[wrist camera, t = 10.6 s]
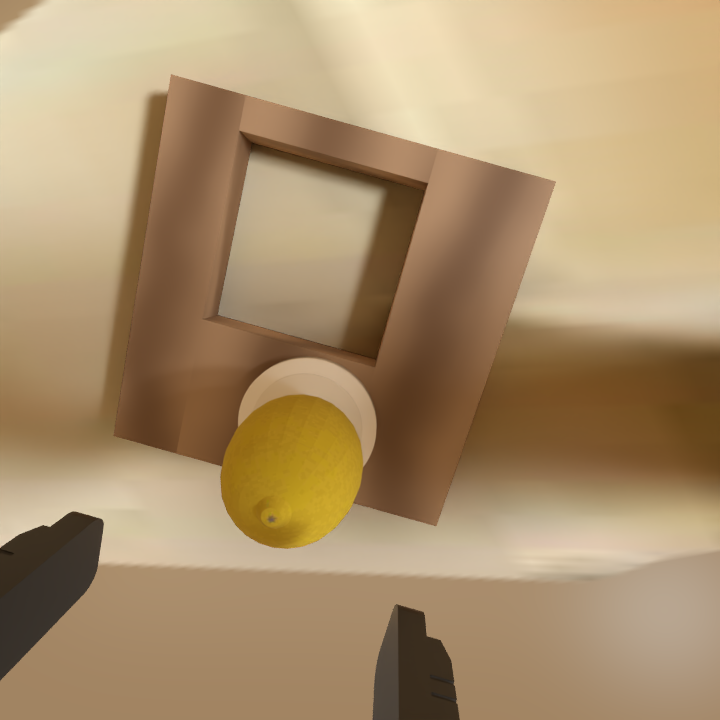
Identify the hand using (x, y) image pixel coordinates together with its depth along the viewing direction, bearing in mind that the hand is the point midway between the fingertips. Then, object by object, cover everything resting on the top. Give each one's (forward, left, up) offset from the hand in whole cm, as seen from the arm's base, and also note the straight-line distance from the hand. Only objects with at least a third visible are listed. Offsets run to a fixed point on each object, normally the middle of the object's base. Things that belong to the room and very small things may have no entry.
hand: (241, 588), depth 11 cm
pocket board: (+1, -6, -14) cm, 15 cm away
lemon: (0, 0, -11) cm, 11 cm away
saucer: (0, 0, -12) cm, 12 cm away
